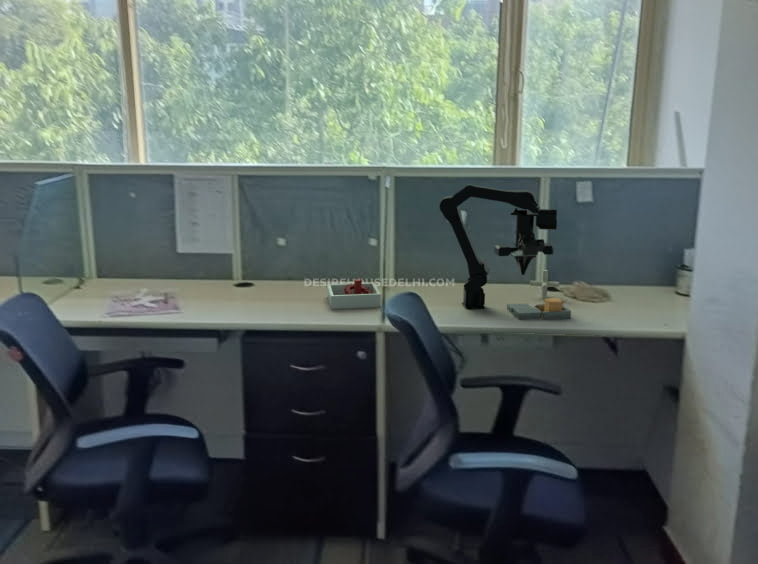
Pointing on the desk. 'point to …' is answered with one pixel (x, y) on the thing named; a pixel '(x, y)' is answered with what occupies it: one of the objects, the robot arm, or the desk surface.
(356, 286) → the red branched piece
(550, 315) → the sliding lid box
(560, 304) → the block
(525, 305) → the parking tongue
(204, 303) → the desk surface
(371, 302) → the gear corral
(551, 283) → the pipe connector
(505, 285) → the desk surface
